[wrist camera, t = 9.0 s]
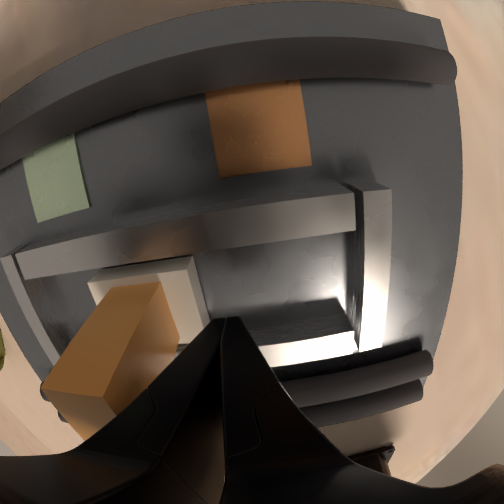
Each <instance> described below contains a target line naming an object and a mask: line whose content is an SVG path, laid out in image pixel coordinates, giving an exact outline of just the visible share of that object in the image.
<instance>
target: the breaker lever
mask: <svg viewBox="0 0 504 504" xmlns="http://www.w3.org/2000/svg"><path fill="white" fill-rule="evenodd" d="M87 284H88V286H89V289H90V291H91V293H92V296H93V298H94V301H95V303H96V305H97V307H96V308H95V309H94V310H93V312H92V313H91V314H90V316H89V317H88V319H87V320H86V321H85V323H84V324H83V325H82V327H81V328H80V329H79V331H78V332H77V334H76V335H75V336H74V338H73V339H72V341H71V342H70V344H69V345H68V346H67V348H66V349H65V351H64V352H63V354H62V355H61V357H60V358H59V360H58V361H57V363H56V364H55V366H54V367H53V369H52V370H51V372H50V373H49V375H48V376H47V378H46V380H45V381H44V383H43V384H42V386H41V388H40V389H41V390H42V391H43V393H44V394H45V395H46V396H47V398H48V399H49V400H50V402H51V403H52V404H53V405H54V407H55V408H56V409H57V410H58V411H59V413H60V414H61V415H62V416H63V417H64V419H65V420H66V421H67V422H68V423H69V424H70V425H71V426H72V428H73V429H74V430H75V431H76V432H77V433H78V434H79V435H80V436H81V437H82V438H83V439H84V440H85V441H86V440H87V439H88V438H90V437H91V436H92V435H93V434H95V433H96V432H97V431H98V430H100V429H101V428H102V427H103V426H105V425H106V424H107V423H108V422H110V421H111V420H112V419H113V418H115V417H116V416H117V415H118V414H119V413H120V412H122V411H123V410H124V409H125V408H126V407H127V406H128V405H129V404H130V403H131V402H132V401H133V400H135V399H136V398H137V397H138V396H139V395H140V394H141V393H142V392H143V391H144V390H145V389H146V388H147V387H148V386H149V385H150V384H151V382H152V381H153V380H154V379H155V378H156V377H157V376H158V375H159V374H160V373H161V372H162V371H163V370H164V369H165V368H166V367H167V366H168V365H169V364H170V363H171V362H172V361H173V360H174V356H175V353H176V350H177V346H178V344H183V343H190V342H191V341H192V340H193V339H194V338H195V337H196V336H197V335H198V334H199V333H200V332H201V331H202V330H203V329H204V327H205V326H206V325H207V324H208V323H209V322H210V319H209V315H208V311H207V308H206V304H205V301H204V297H203V293H202V290H201V286H200V282H199V278H198V274H197V270H196V267H195V263H194V259H193V256H188V257H181V258H175V259H168V260H161V261H154V262H148V263H141V264H134V265H128V266H121V267H115V268H108V269H101V270H99V271H98V272H97V273H96V274H95V275H94V276H93V277H92V278H91V279H90V280H89V281H88V283H87ZM147 389H148V388H147Z"/></svg>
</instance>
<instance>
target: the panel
mask: <svg viewBox="0 0 504 504" xmlns="http://www.w3.org/2000/svg"><path fill="white" fill-rule="evenodd" d="M290 37H356V38H370V39H381V40H390V41H397V42H404V43H411V44H417V45H422V46H427V47H432V48H437V49H441V50H446V51H448V47H447V43H446V39H445V35H444V32H443V28H442V25H441V21H440V19H437V18H433V17H429V16H425V15H421V14H417V13H412V12H408V11H403V10H398V9H392V8H386V7H379V6H372V5H364V4H354V3H342V2H320V1H296V2H274V3H261V4H251V5H243V6H235V7H229V8H222V9H217V10H211V11H206V12H201V13H197V14H192V15H188V16H184V17H180V18H176V19H172V20H168V21H165V22H161V23H158V24H155V25H152V26H148V27H145V28H142V29H139V30H136V31H134V32H131V33H128V34H125V35H123V36H120V37H118V38H115V39H113V40H110V41H108V42H105V43H103V44H101V45H98V46H96V47H94V48H92V49H90V50H87V51H85V52H83V53H81V54H79V55H77V56H75V57H73V58H71V59H69V60H67V61H65V62H64V63H62V64H60V65H58V66H56V67H54V68H53V69H51V70H49V71H47V72H46V73H44V74H42V75H41V76H39V77H38V78H36V79H34V80H33V81H31V82H30V83H28V84H27V85H25V86H24V87H22V88H21V89H19V90H18V91H16V92H15V93H13V94H12V95H10V96H9V97H8V98H6V99H5V100H4V101H2V102H1V103H0V135H1V134H2V133H4V132H5V131H7V130H8V129H10V128H11V127H13V126H14V125H16V124H17V123H19V122H21V121H22V120H24V119H25V118H27V117H29V116H30V115H32V114H34V113H35V112H37V111H39V110H41V109H43V108H44V107H46V106H48V105H50V104H52V103H54V102H56V101H57V100H59V99H61V98H63V97H65V96H67V95H69V94H71V93H74V92H76V91H78V90H80V89H82V88H84V87H87V86H89V85H91V84H94V83H96V82H98V81H101V80H103V79H106V78H108V77H111V76H113V75H116V74H119V73H121V72H124V71H127V70H130V69H132V68H135V67H138V66H141V65H145V64H148V63H151V62H154V61H158V60H161V59H165V58H168V57H172V56H176V55H180V54H184V53H188V52H192V51H196V50H201V49H206V48H211V47H216V46H222V45H227V44H234V43H240V42H248V41H256V40H265V39H276V38H290ZM448 52H449V51H448ZM462 178H463V170H462V140H461V126H460V116H459V107H458V99H457V92H456V86H455V81H454V82H453V83H452V84H451V85H448V86H447V85H440V84H434V83H426V82H418V81H408V80H396V79H380V78H313V79H297V80H285V81H275V82H266V83H257V84H250V85H243V86H237V87H231V88H225V89H219V90H214V91H209V92H204V93H199V94H195V95H190V96H186V97H182V98H177V99H173V100H170V101H166V102H162V103H158V104H155V105H151V106H148V107H144V108H141V109H138V110H135V111H131V112H128V113H125V114H122V115H119V116H116V117H114V118H111V119H108V120H105V121H102V122H100V123H97V124H94V125H92V126H89V127H87V128H84V129H82V130H79V131H77V132H75V133H72V134H70V135H68V136H65V137H63V138H61V139H59V140H57V141H54V142H52V143H50V144H48V145H46V146H44V147H42V148H40V149H38V150H36V151H34V152H32V153H30V154H28V155H26V156H24V157H22V158H21V159H19V160H17V161H15V162H13V163H12V164H10V165H8V166H6V167H5V168H3V169H1V170H0V313H1V315H2V317H3V319H4V321H5V322H6V324H7V326H8V328H9V330H10V332H11V334H12V335H13V337H14V339H15V341H16V342H17V344H18V346H19V347H20V349H21V351H22V352H23V354H24V356H25V357H26V359H27V360H28V362H29V363H30V365H31V366H32V368H33V369H34V371H35V372H36V374H37V375H38V377H39V378H40V380H41V381H42V382H43V381H45V380H46V378H47V376H48V375H49V373H50V372H51V370H52V369H53V367H54V366H55V364H56V363H57V361H58V360H59V358H60V357H61V355H62V354H63V352H64V351H65V349H66V348H67V346H68V345H69V344H70V342H71V341H72V339H73V338H74V336H75V335H76V334H77V332H78V331H79V329H80V328H81V327H82V325H83V324H84V323H85V321H86V320H87V319H88V317H89V316H90V314H91V313H92V312H93V310H94V309H95V308H96V307H97V305H96V303H95V301H94V298H93V296H92V293H91V291H90V289H89V286H88V284H87V283H88V281H89V280H90V279H91V278H92V277H93V276H94V275H95V274H96V273H97V272H98V271H99V270H101V269H108V268H115V267H121V266H128V265H134V264H141V263H148V262H154V261H161V260H168V259H175V258H181V257H188V256H193V259H194V263H195V267H196V270H197V274H198V278H199V282H200V286H201V290H202V293H203V297H204V301H205V304H206V308H207V311H208V315H209V319H210V321H211V320H212V319H214V318H224V317H225V318H227V317H233V316H239V317H240V318H241V319H242V321H243V323H244V325H245V326H246V328H247V330H248V331H249V333H250V335H251V336H252V338H253V339H254V341H255V343H256V344H257V346H258V348H259V349H260V351H261V353H262V354H263V356H264V357H265V359H266V361H267V362H268V364H269V366H270V367H271V369H272V370H273V372H274V374H275V375H276V377H277V378H278V380H279V382H282V381H289V380H296V379H303V378H309V377H315V376H320V375H326V374H331V373H336V372H341V371H346V370H350V369H355V368H359V367H364V366H368V365H372V364H376V363H380V362H384V361H388V360H392V359H395V358H399V357H402V356H406V355H409V354H413V353H416V352H419V351H422V350H428V351H429V352H430V354H431V356H432V359H433V358H434V355H435V352H436V348H437V345H438V342H439V338H440V335H441V331H442V327H443V323H444V319H445V315H446V311H447V307H448V302H449V298H450V293H451V288H452V283H453V277H454V271H455V265H456V258H457V251H458V243H459V234H460V223H461V209H462ZM188 344H189V343H183V344H178V346H177V350H176V353H175V356H174V359H175V358H176V357H177V356H178V355H179V354H180V353H181V352H182V350H183V349H184V348H185V347H186V346H187V345H188ZM426 378H427V376H426V377H423V378H420V379H419V380H420V381H421V383H422V386H423V387H424V384H425V381H426Z"/></svg>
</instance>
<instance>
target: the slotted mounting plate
mask: <svg viewBox="0 0 504 504" xmlns="http://www.w3.org/2000/svg"><path fill="white" fill-rule="evenodd" d="M456 75H457V66H456V62H455V60H454V58H453V56H452V55H451V54H450V53H449V52H448V51H446V50H441V49H437V48H432V47H427V46H422V45H417V44H411V43H404V42H397V41H390V40H381V39H370V38H356V37H290V38H276V39H265V40H256V41H248V42H240V43H234V44H227V45H222V46H216V47H211V48H206V49H201V50H196V51H192V52H188V53H184V54H180V55H176V56H172V57H168V58H165V59H161V60H158V61H154V62H151V63H148V64H145V65H141V66H138V67H135V68H132V69H130V70H127V71H124V72H121V73H119V74H116V75H113V76H111V77H108V78H106V79H103V80H101V81H98V82H96V83H94V84H91V85H89V86H87V87H84V88H82V89H80V90H78V91H76V92H74V93H71V94H69V95H67V96H65V97H63V98H61V99H59V100H57V101H56V102H54V103H52V104H50V105H48V106H46V107H44V108H43V109H41V110H39V111H37V112H35V113H34V114H32V115H30V116H29V117H27V118H25V119H24V120H22V121H21V122H19V123H17V124H16V125H14V126H13V127H11V128H10V129H8V130H7V131H5V132H4V133H2V134H1V135H0V170H1V169H3V168H5V167H6V166H8V165H10V164H12V163H13V162H15V161H17V160H19V159H21V158H22V157H24V156H26V155H28V154H30V153H32V152H34V151H36V150H38V149H40V148H42V147H44V146H46V145H48V144H50V143H52V142H54V141H57V140H59V139H61V138H63V137H65V136H68V135H70V134H72V133H75V132H77V131H79V130H82V129H84V128H87V127H89V126H92V125H94V124H97V123H100V122H102V121H105V120H108V119H111V118H114V117H116V116H119V115H122V114H125V113H128V112H131V111H135V110H138V109H141V108H144V107H148V106H151V105H155V104H158V103H162V102H166V101H170V100H173V99H177V98H182V97H186V96H190V95H195V94H199V93H204V92H209V91H214V90H219V89H225V88H231V87H237V86H243V85H250V84H257V83H266V82H275V81H285V80H297V79H313V78H380V79H396V80H408V81H418V82H426V83H434V84H440V85H447V86H448V85H451V84H452V83H453V82H454V81H455V79H456ZM432 371H433V359H432V356H431V354H430V352H429V351H428V350H422V351H419V352H416V353H413V354H409V355H406V356H402V357H399V358H395V359H392V360H388V361H384V362H380V363H376V364H372V365H368V366H364V367H359V368H355V369H350V370H346V371H341V372H336V373H331V374H326V375H320V376H315V377H309V378H303V379H296V380H289V381H282V382H280V383H281V384H282V386H283V387H284V389H285V391H286V392H287V393H288V395H289V396H290V398H291V399H292V400H293V402H294V403H295V404H296V406H297V407H298V408H299V409H300V410H301V411H302V413H303V414H304V415H305V416H306V417H307V418H308V419H309V420H310V421H311V422H312V423H313V425H314V426H315V427H316V428H317V427H323V426H328V425H333V424H338V423H342V422H347V421H351V420H356V419H360V418H364V417H368V416H371V415H375V414H379V413H382V412H386V411H389V410H392V409H396V408H399V407H402V406H405V405H408V404H411V403H414V402H417V401H420V400H421V399H422V397H423V386H422V383H421V381H420V380H419V379H420V378H423V377H426V376H428V375H430V374H431V373H432ZM43 383H44V381H43V382H42V383H41V386H42V384H43ZM41 386H40V388H41ZM40 393H41V396H42V398H43V399H44V400H45V401H49V402H50V400H49V399H48V398H47V396H46V395H45V394H44V393H43V391H42V390H41V389H40ZM58 416H59V418H60V420H61V421H63V422H66V423H68V422H67V421H66V420H65V419H64V417H63V416H62V415H61V414H60V413H59V411H58Z"/></svg>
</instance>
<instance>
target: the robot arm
mask: <svg viewBox="0 0 504 504" xmlns="http://www.w3.org/2000/svg"><path fill="white" fill-rule="evenodd" d="M147 388H148V389H147ZM147 388H146V389H145V390H144V391H143V392H142V393H141V394H140V395H139V396H138V397H137V398H136V399H135V400H133V401H132V402H131V403H130V404H129V405H128V406H127V407H126V408H125V409H124V410H123V411H122V412H120V413H119V414H118V415H117V416H116V417H115V418H113V419H112V420H111V421H110V422H108V423H107V424H106V425H105V426H103V427H102V428H101V429H100V430H98V431H97V432H96V433H95V434H93V435H92V436H91V437H90V438H88V439H87V440H86V441H84V442H83V443H82V444H80V445H79V446H78V447H76V448H74V449H72V450H70V451H67V452H64V453H60V454H52V455H37V456H0V504H504V466H503V465H500V464H494V465H491V466H489V467H487V468H485V469H484V470H482V471H480V472H478V473H476V474H475V475H473V476H471V477H470V478H468V479H466V480H464V481H462V482H460V483H457V484H455V485H452V486H447V487H433V488H431V487H425V486H420V485H416V484H413V483H410V482H407V481H404V480H400V479H397V478H394V477H391V473H390V470H389V467H388V462H389V460H390V458H391V457H392V455H393V453H394V451H395V447H394V446H389V447H386V448H382V449H379V450H376V451H372V452H368V453H365V454H361V455H357V456H353V457H349V458H348V457H347V456H345V455H344V454H343V453H342V452H341V451H340V450H338V449H337V448H336V447H335V446H334V445H333V444H332V443H331V442H330V441H329V440H328V439H327V438H326V437H325V436H324V435H323V434H322V433H321V432H320V431H319V430H318V429H317V428H316V427H315V426H314V425H313V423H312V422H311V421H310V420H309V419H308V418H307V417H306V416H305V415H304V414H303V413H302V411H301V410H300V409H299V408H298V407H297V406H296V404H295V403H294V402H293V400H292V399H291V398H290V396H289V395H288V393H287V392H286V391H285V389H284V387H283V386H282V384H281V383H280V382H279V380H278V378H277V377H276V375H275V374H274V372H273V370H272V369H271V367H270V366H269V364H268V362H267V361H266V359H265V357H264V356H263V354H262V353H261V351H260V349H259V348H258V346H257V344H256V343H255V341H254V339H253V338H252V336H251V335H250V333H249V331H248V330H247V328H246V326H245V325H244V323H243V321H242V319H241V318H240V317H239V316H233V317H227V318H225V317H224V318H214V319H212V320H211V321H210V322H209V323H208V324H207V325H206V326H205V327H204V329H203V330H202V331H201V332H200V333H199V334H198V335H197V336H196V337H195V338H194V339H193V340H192V341H191V342H190V343H189V344H188V345H187V346H186V347H185V348H184V349H183V350H182V352H181V353H180V354H179V355H178V356H177V357H176V358H175V359H174V360H173V361H172V362H171V363H170V364H169V365H168V366H167V367H166V368H165V369H164V370H163V371H162V372H161V373H160V374H159V375H158V376H157V377H156V378H155V379H154V380H153V381H152V382H151V384H150V385H149V386H148V387H147ZM224 476H225V483H224ZM223 485H224V487H223Z"/></svg>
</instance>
